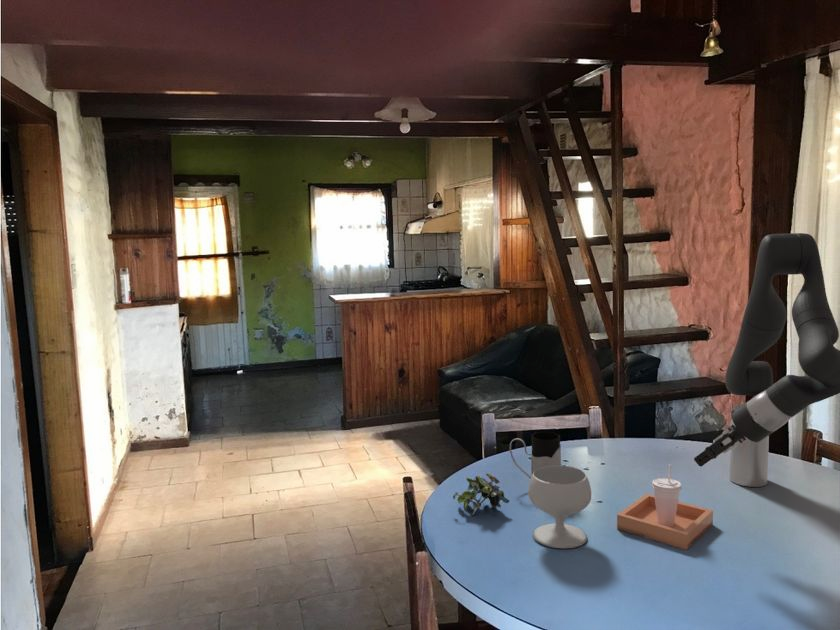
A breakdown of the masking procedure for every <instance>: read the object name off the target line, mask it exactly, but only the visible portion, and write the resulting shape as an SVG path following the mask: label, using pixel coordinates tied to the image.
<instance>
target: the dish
mask: <svg viewBox="0 0 840 630" xmlns="http://www.w3.org/2000/svg"><path fill="white" fill-rule="evenodd" d="M713 525H714V510H713V509H708V508H705V507H702V506H697V505H694V504H689V503H686V502H682V501H678V505H677V511H676V518H675V524H674V525H673V526H664V525H660V524H659V523H658V521H657V512H656V503H655V495H654V494H650V493H645V494H644V495H643V496H641V497H640V498H638V499H637V500H635V501H634V502H633V503H631V504H630V505H628V506H627V507H626V508H624V509H622V510H621V511H620V512H618V513H617V514H616V530H619V529H620V530H619V531H622V530H623V532H625V531H627V532H626V533H629V532H631V533H630V534H632V533H634V534H633V535H635V534H637V535H636V536H639V535H641V536H640V537H642V536H643V538H645V537H647V538H646V539H649V538H650V540H652V539H653V541H655V540H656V541H655V542H659V543H662V544H665V543H666V544H665V545H668V544H669V546H671V547H676V548H679V549H682V550H685V551H687V550H688V549H689V548H690V547H691V546H692V545H693V544H694V543H695V542H697V541H698V539H700V537H702V536H703V535H704V534H705V533H706V532H707V531H708V530H709V529H710V528H711V527H712V526H713Z"/></svg>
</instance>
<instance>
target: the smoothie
mask: <svg viewBox="0 0 840 630" xmlns="http://www.w3.org/2000/svg"><path fill="white" fill-rule="evenodd" d="M667 467H668V469H667V477H659V478H655V479H653V480H652V484H651V487H652V488H653V495H655V503H656V512H657V521H658V523H659V524H660V525H664V526H673V525H674V524H675V518H676V511H677V505H678V502H679V498H680V492H681V490H682V483H681V482H680V481H679V480H675V479H673V478H672V464H668V466H667Z"/></svg>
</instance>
